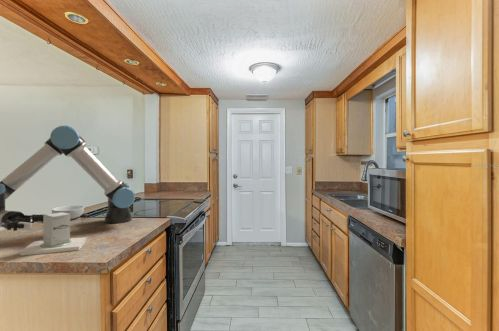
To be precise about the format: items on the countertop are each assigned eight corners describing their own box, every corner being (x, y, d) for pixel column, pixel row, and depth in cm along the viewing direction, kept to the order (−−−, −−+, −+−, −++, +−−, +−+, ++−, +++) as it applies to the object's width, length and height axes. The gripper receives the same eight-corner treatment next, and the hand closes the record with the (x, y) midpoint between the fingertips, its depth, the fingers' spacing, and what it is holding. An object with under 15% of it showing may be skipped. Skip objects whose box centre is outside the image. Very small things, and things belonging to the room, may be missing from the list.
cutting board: (86, 240, 125) (86, 236, 124) (79, 250, 111) (79, 246, 111) (34, 244, 117) (34, 240, 117) (19, 255, 104) (19, 251, 104)
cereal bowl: (46, 219, 164) (46, 208, 164) (74, 215, 179) (74, 204, 179) (61, 223, 156) (61, 211, 156) (89, 217, 171) (89, 206, 171)
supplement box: (51, 246, 110) (51, 216, 110) (42, 243, 114) (42, 214, 113) (70, 242, 116) (70, 213, 116) (62, 239, 120) (61, 211, 120)
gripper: (38, 221, 132) (72, 224, 127) (-24, 235, 108) (16, 239, 103) (38, 206, 132) (72, 208, 127) (-24, 216, 108) (16, 220, 103)
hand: (47, 222), depth 115 cm, fingers open, 13 cm apart
